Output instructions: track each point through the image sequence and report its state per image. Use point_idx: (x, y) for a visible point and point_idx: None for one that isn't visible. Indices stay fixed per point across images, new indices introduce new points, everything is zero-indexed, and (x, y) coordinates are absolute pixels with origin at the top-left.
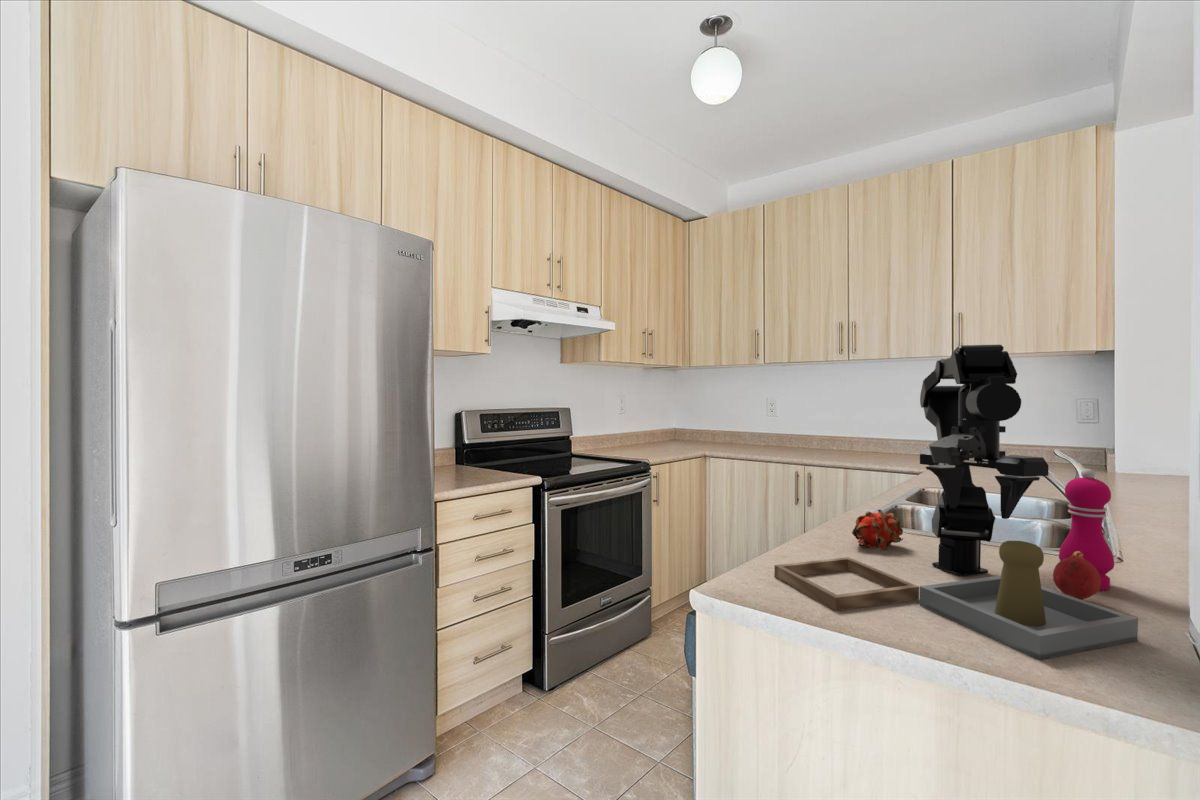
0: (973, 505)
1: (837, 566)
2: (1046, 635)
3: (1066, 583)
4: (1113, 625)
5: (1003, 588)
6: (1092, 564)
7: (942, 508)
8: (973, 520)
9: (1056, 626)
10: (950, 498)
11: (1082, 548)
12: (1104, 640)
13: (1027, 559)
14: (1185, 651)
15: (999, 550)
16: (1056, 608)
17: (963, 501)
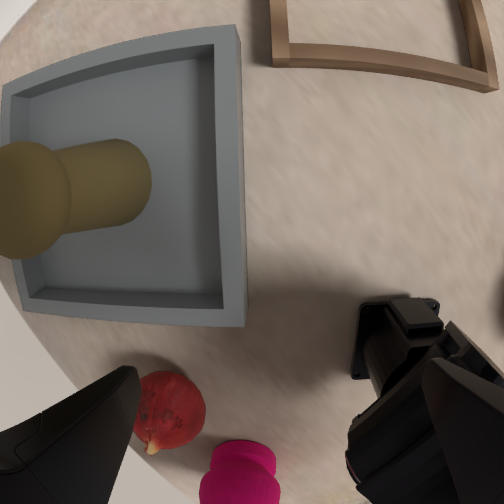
0: (398, 461)
1: (474, 48)
2: (2, 98)
3: (155, 377)
4: None
5: (86, 145)
6: (207, 476)
7: (485, 378)
8: (380, 416)
9: None
10: (456, 380)
11: (220, 497)
12: None
13: None
14: (23, 317)
15: (39, 149)
16: (126, 293)
17: (437, 453)
